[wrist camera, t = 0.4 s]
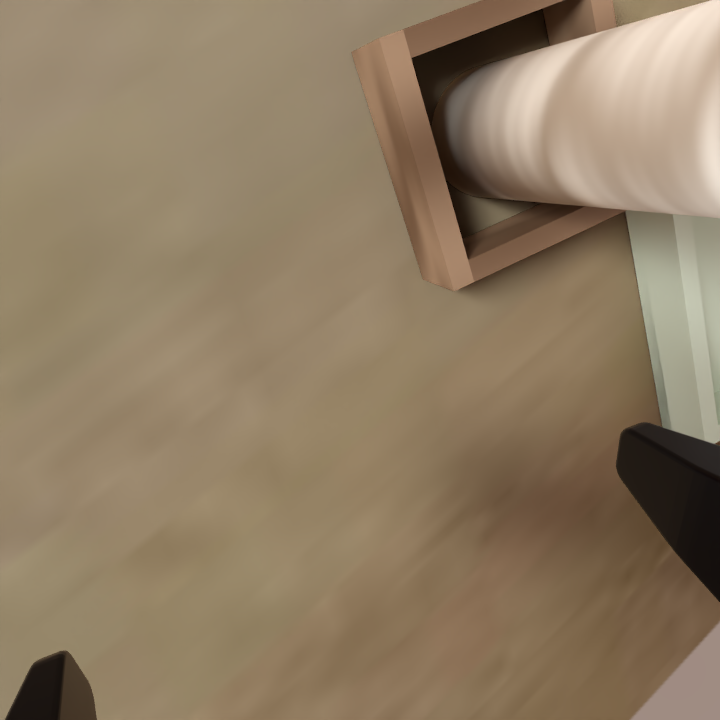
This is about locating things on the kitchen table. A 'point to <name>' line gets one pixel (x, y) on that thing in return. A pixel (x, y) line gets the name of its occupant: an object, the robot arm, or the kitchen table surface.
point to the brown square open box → (419, 153)
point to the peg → (594, 120)
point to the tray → (681, 315)
